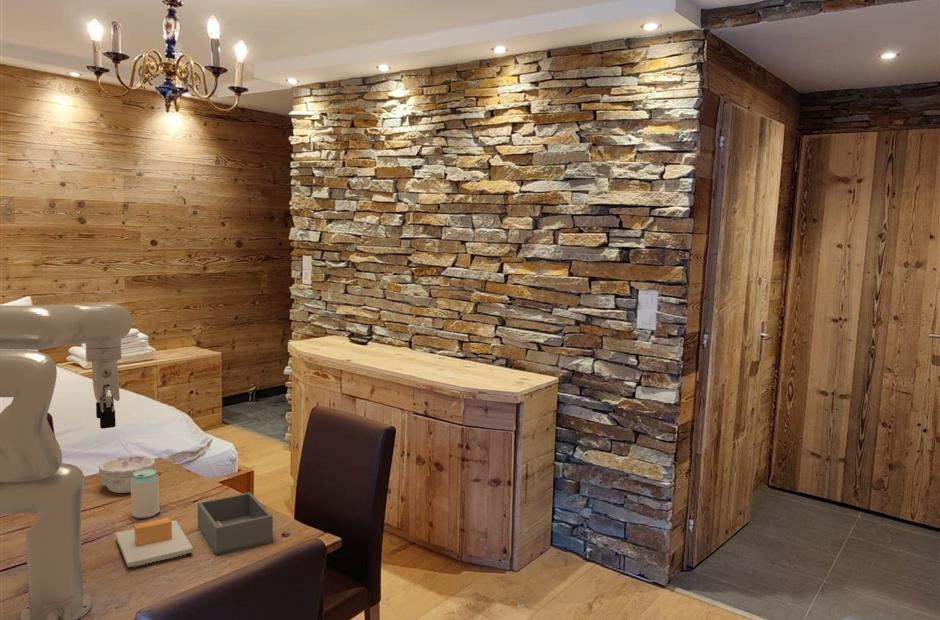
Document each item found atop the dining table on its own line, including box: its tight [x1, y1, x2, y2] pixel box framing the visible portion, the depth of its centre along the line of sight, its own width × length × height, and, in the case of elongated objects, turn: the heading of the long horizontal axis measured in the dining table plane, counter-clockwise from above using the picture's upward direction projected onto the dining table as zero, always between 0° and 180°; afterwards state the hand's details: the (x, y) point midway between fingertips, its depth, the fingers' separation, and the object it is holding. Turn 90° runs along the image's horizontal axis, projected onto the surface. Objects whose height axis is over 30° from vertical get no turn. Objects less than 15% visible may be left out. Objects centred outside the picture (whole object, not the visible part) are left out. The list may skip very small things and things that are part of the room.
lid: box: [114, 517, 194, 568], centre depth 168 cm, size 18×14×6 cm
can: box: [130, 469, 161, 520], centre depth 187 cm, size 7×7×12 cm
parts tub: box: [197, 492, 274, 556], centre depth 177 cm, size 18×14×7 cm
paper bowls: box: [98, 455, 156, 494], centre depth 205 cm, size 15×15×8 cm
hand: (105, 422), depth 165 cm, fingers open, 9 cm apart
